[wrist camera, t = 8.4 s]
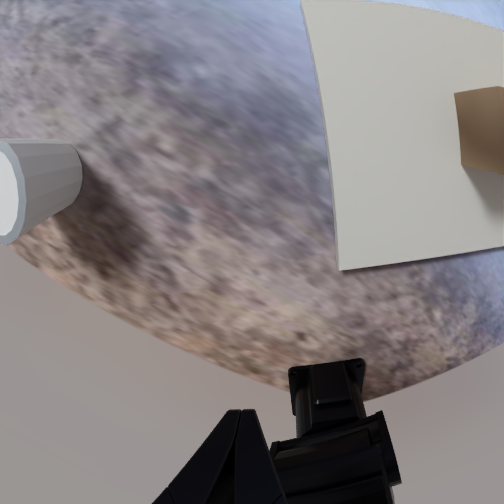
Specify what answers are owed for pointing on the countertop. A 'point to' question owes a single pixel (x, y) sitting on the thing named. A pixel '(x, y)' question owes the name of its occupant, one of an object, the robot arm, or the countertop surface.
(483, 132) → the walnut block
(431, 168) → the cutting board
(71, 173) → the white tapered cup
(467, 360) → the countertop surface
